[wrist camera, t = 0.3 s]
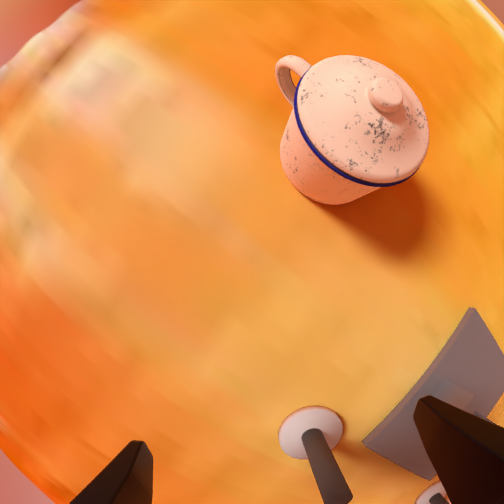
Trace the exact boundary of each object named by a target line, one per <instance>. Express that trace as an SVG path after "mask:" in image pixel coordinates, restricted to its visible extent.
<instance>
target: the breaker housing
mask: <svg viewBox="0 0 504 504" xmlns="http://www.w3.org/2000/svg"><path fill="white" fill-rule="evenodd" d="M503 392H504V355H503V353H502V351H501V349H500V348H499V346H498V344H497V342H496V341H495V339H494V337H493V336H492V334H491V332H490V331H489V329H488V328H487V326H486V324H485V323H484V321H483V320H482V318H481V317H480V315H479V314H478V312H477V310H476V309H475V308H471V307H469V309H468V310H467V312H466V314H465V315H464V317H463V319H462V320H461V322H460V323H459V325H458V327H457V328H456V330H455V331H454V333H453V334H452V336H451V337H450V339H449V340H448V342H447V343H446V345H445V346H444V347H443V349H442V350H441V352H440V353H439V354H438V356H437V357H436V358H435V360H434V361H433V363H432V364H431V365H430V366H429V368H428V369H427V370H426V372H425V373H424V374H423V375H422V377H421V378H420V379H419V380H418V382H417V383H416V384H415V385H414V387H413V388H412V389H411V390H410V391H409V393H408V394H407V395H406V396H405V397H404V398H403V399H402V401H401V402H400V403H399V404H398V405H397V406H396V407H395V408H394V409H393V411H392V412H391V413H390V414H389V415H388V416H387V417H386V418H385V419H384V420H383V421H382V422H381V423H380V424H379V425H378V426H377V427H376V428H375V429H374V430H373V431H372V432H371V433H370V434H369V435H368V436H367V437H366V438H365V439H364V440H363V441H362V442H363V444H364V445H365V446H366V447H367V448H369V449H371V450H372V451H374V452H376V453H378V454H379V455H381V456H383V457H385V458H386V459H388V460H390V461H392V462H394V463H395V464H397V465H399V466H401V467H403V468H405V469H407V470H409V471H411V472H413V473H415V474H416V475H418V476H420V477H422V478H425V479H427V480H429V481H430V480H431V479H432V478H433V477H435V476H436V475H437V473H436V471H435V469H434V467H433V465H432V463H431V461H430V459H429V457H428V455H427V453H426V451H425V448H424V446H423V443H422V440H421V438H420V435H419V432H418V430H417V427H416V425H415V422H414V419H413V413H414V410H415V407H416V404H417V401H418V400H419V398H421V397H424V396H426V395H431V396H433V397H436V398H438V399H440V400H442V401H444V402H446V403H448V404H451V405H453V406H455V407H457V408H459V409H462V410H464V411H466V412H468V413H471V414H473V415H475V416H477V417H480V418H482V419H484V420H487V421H489V422H491V423H493V422H492V421H490V420H489V419H487V418H486V417H487V416H488V414H489V413H490V411H491V410H492V409H493V407H494V406H495V404H496V403H497V401H498V400H499V398H500V397H501V395H502V394H503ZM494 424H495V423H494ZM496 425H497V424H496Z"/></svg>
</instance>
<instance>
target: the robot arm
mask: <svg viewBox="0 0 504 504" xmlns="http://www.w3.org/2000/svg"><path fill="white" fill-rule="evenodd" d="M413 419H414V422H415V425H416V427H417V430H418V432H419V435H420V438H421V440H422V443H423V446H424V448H425V451H426V453H427V455H428V457H429V459H430V461H431V463H432V465H433V467H434V469H435V471H436V473H437V475H438V477H439V479H440V481H441V483H442V485H443V487H444V489H445V491H446V493H447V495H448V497H449V499H450V502H451V504H504V428H503V427H501V426H498V425H496V424H494V423H491V422H489V421H487V420H484V419H482V418H480V417H477V416H475V415H473V414H471V413H468V412H466V411H464V410H462V409H459V408H457V407H455V406H453V405H451V404H448V403H446V402H444V401H442V400H440V399H438V398H436V397H433V396H431V395H426V396H424V397H421V398H419V400H418V401H417V404H416V407H415V410H414V413H413ZM152 493H153V456H152V454H151V452H150V450H149V449H148V447H147V445H146V443H145V442H144V441H137V440H133V441H131V442H129V444H128V445H127V446H126V447H125V448H124V449H123V450H122V451H121V452H120V453H119V454H118V455H117V456H116V457H115V458H114V459H113V460H112V461H111V462H110V463H109V464H108V465H107V466H106V467H105V468H104V469H103V470H102V471H101V472H100V473H99V474H98V475H97V476H96V477H95V478H94V479H93V480H92V481H91V482H90V483H89V484H88V485H87V486H86V487H85V488H84V489H83V490H82V491H81V492H80V493H79V494H78V495H77V496H76V497H75V498H74V499H73V500H72V501H71V502H70V504H152Z"/></svg>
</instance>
